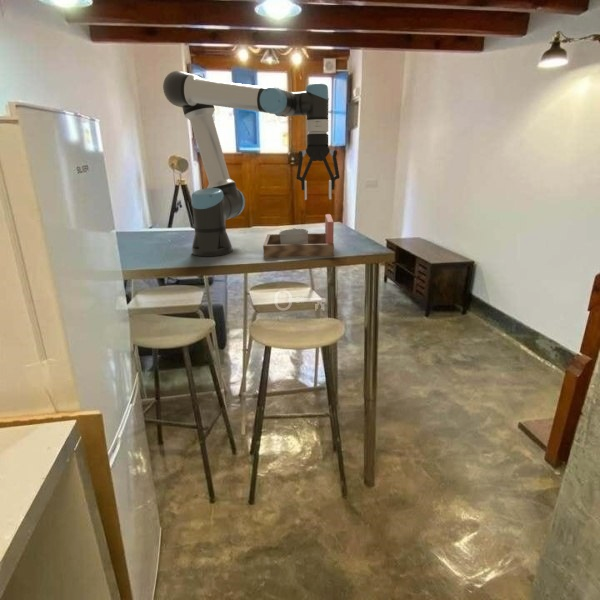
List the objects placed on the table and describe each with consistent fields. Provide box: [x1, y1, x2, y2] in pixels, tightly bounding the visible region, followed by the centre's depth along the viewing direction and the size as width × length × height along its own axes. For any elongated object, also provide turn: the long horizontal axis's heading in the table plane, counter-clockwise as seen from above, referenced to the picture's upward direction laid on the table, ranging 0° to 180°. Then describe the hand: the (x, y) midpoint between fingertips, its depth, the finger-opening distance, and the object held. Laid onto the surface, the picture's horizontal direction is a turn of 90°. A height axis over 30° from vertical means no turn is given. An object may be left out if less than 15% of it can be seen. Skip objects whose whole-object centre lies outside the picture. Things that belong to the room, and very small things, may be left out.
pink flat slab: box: [324, 213, 335, 244], centre depth 160 cm, size 2×17×12 cm, turn 0°
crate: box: [262, 232, 335, 259], centre depth 161 cm, size 25×20×4 cm
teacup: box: [278, 228, 309, 245], centre depth 161 cm, size 14×11×8 cm
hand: (317, 199), depth 155 cm, fingers open, 8 cm apart
